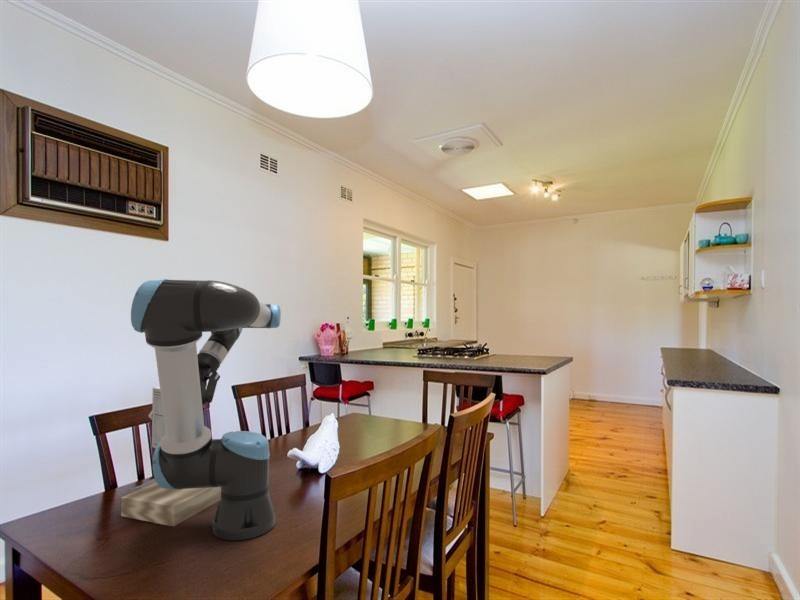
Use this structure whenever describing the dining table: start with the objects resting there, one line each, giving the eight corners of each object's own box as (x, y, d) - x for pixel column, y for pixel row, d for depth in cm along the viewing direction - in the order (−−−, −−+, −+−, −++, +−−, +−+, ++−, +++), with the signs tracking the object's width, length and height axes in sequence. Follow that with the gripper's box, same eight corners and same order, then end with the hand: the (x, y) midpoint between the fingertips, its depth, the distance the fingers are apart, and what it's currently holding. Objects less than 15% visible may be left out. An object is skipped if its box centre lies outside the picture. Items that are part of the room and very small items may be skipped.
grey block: (124, 506, 130) (152, 503, 127) (123, 489, 130) (150, 486, 128) (156, 492, 141) (182, 489, 139) (155, 476, 142) (181, 473, 139)
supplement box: (201, 444, 127) (201, 385, 127) (169, 453, 119) (170, 390, 119) (182, 439, 132) (183, 382, 132) (150, 447, 124) (151, 386, 125)
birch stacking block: (222, 498, 130) (222, 481, 131) (173, 526, 113) (174, 506, 114) (174, 491, 136) (174, 474, 136) (121, 516, 119) (121, 497, 119)
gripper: (246, 368, 137) (209, 431, 122) (185, 365, 144) (143, 424, 129) (235, 352, 132) (195, 416, 117) (173, 350, 139) (127, 409, 124)
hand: (168, 420), depth 123 cm, fingers closed on supplement box, 11 cm apart
